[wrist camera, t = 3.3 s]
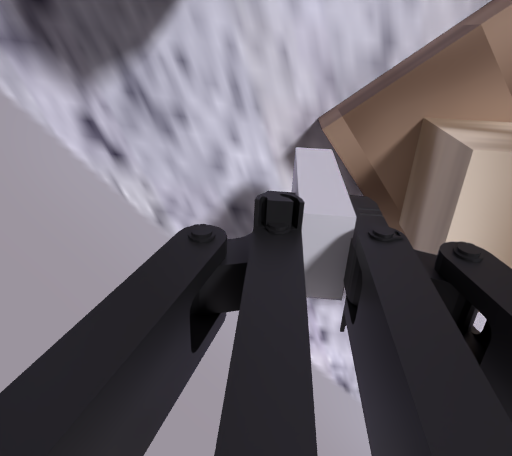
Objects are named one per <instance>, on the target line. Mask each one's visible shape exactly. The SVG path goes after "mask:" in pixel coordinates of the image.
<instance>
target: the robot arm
mask: <svg viewBox="0 0 512 456" xmlns="http://www.w3.org/2000/svg"><path fill="white" fill-rule="evenodd" d="M344 286H345V290H346V300H345V305H344V311H343V316H342V322H341V327H340V331H341V332H344V329H345V326H346V325H347V330H348V335H349V340H350V345H351V350H352V356H353V361H354V366H355V371H356V376H357V382H358V387H359V392H360V397H361V402H362V408H363V413H364V418H365V423H366V428H367V434H368V438H369V444H370V449H371V454H372V456H512V269H511V268H510V267H509V266H507V265H506V264H505V263H503V262H502V261H501V260H499V259H498V258H497V257H495V256H494V255H493V254H491V253H490V252H488V251H486V250H485V249H483V248H480V247H478V246H475V245H474V244H472V243H466V242H462V241H460V242H446V243H443V244H442V245H441V246H440V248H439V251H438V254H437V255H435V254H430V253H426V252H422V251H418V250H415V249H413V247H412V245H411V244H410V242H409V240H408V238H407V237H406V236H405V235H404V234H403V233H402V232H400V231H398V230H396V229H394V228H390V227H389V226H388V224H387V222H386V220H385V218H384V216H383V214H382V212H381V211H380V208H379V207H378V205H377V203H376V202H375V201H373V200H372V199H370V198H369V197H367V196H352V195H348V192H347V190H346V187H345V184H344V181H343V179H342V176H341V173H340V170H339V167H338V165H337V162H336V159H335V156H334V154H333V151H332V149H317V148H301V147H296V151H295V161H294V172H293V183H292V192H277V191H267V192H266V193H263V194H260V195H258V196H257V197H256V199H255V210H254V228H253V232H252V233H251V234H249V235H247V236H245V237H241V238H236V239H227V235H226V233H225V231H224V230H222V229H221V228H219V227H215V226H212V225H206V224H200V225H199V224H197V225H193V226H190V227H186V228H184V229H182V230H181V231H179V232H178V233H177V234H176V235H175V236H173V237H172V238H171V239H170V240H169V241H168V242H167V243H166V244H165V245H163V246H162V247H161V248H160V249H159V250H158V251H157V252H156V253H155V254H154V255H152V256H151V257H150V258H149V259H148V260H147V261H146V262H145V263H144V264H143V265H142V266H140V267H139V268H138V269H137V270H136V271H135V272H134V273H133V274H132V275H130V276H129V277H128V278H127V279H126V280H125V281H124V282H123V283H122V284H120V285H119V286H118V287H117V288H116V289H115V290H114V291H113V292H112V293H110V294H109V295H108V296H107V297H106V298H105V299H104V300H103V301H102V302H101V303H99V304H98V305H97V306H96V307H95V308H94V309H93V310H92V311H90V312H89V313H88V314H87V315H86V316H85V317H84V318H83V319H82V320H80V321H79V322H78V323H77V324H76V325H75V326H74V327H73V328H72V329H71V330H69V331H68V332H67V333H66V334H65V335H64V336H63V337H62V338H61V339H59V340H58V341H57V342H56V343H55V344H54V345H53V346H52V347H51V348H50V349H48V350H47V351H46V352H45V353H44V354H43V355H42V356H41V357H40V358H38V359H37V360H36V361H35V362H34V363H33V364H32V365H31V366H30V367H29V368H27V369H26V370H25V371H24V372H23V373H22V374H21V375H20V376H19V377H18V378H16V379H15V380H14V381H13V382H12V383H11V384H10V385H9V386H7V387H6V388H5V389H4V390H3V391H2V392H1V393H0V456H143V455H144V454H145V452H146V451H147V449H148V447H149V446H150V444H151V442H152V441H153V439H154V437H155V435H156V434H157V432H158V430H159V429H160V427H161V426H162V424H163V422H164V421H165V419H166V417H167V416H168V413H169V412H170V411H171V409H172V407H173V406H174V404H175V402H176V401H177V399H178V397H179V396H180V394H181V392H182V391H183V389H184V387H185V386H186V384H187V382H188V381H189V379H190V377H191V376H192V374H193V372H194V371H195V369H196V367H197V366H198V364H199V362H200V361H201V358H202V357H203V356H204V354H205V352H206V351H207V349H208V347H209V346H210V344H211V342H212V341H213V339H214V337H215V335H216V334H217V332H218V331H219V329H220V327H221V326H222V324H223V322H224V321H225V317H226V312H231V311H238V310H239V316H238V321H237V327H236V333H235V339H234V344H233V350H232V356H231V362H230V368H229V374H228V379H227V386H226V391H225V397H224V403H223V409H222V414H221V420H220V426H219V432H218V438H217V443H216V450H215V455H214V456H317V443H316V428H315V414H314V401H313V386H312V373H311V357H310V343H309V329H308V314H307V300H306V297H309V298H321V299H333V300H342V296H343V290H344ZM478 311H479V312H480V313H481V314H482V315H483V316H484V317H485V318H486V319H487V321H486V323H485V326H484V328H483V330H482V332H481V333H480V332H479V331H478V330H477V329H476V328H475V327H474V326H473V323H474V321H475V318H476V316H477V313H478Z"/></svg>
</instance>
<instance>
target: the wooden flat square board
mask: <svg viewBox="0 0 512 456" xmlns="http://www.w3.org/2000/svg"><path fill="white" fill-rule="evenodd" d="M423 118H440V119H458V120H476V121H493V122H511V123H512V0H492V1H491V2H489V3H488V4H486V5H485V6H483V7H482V8H480V9H479V10H477V11H476V12H475V13H473V14H472V15H470V16H469V17H467V18H466V19H464V20H463V21H461V22H460V23H458V24H457V25H455V26H454V27H452V28H451V29H449V30H448V31H446V32H445V33H443V34H442V35H440V36H439V37H437V38H436V39H435V40H433V41H432V42H430V43H429V44H427V45H426V46H424V47H423V48H421V49H420V50H418V51H417V52H415V53H414V54H412V55H411V56H409V57H408V58H406V59H405V60H403V61H402V62H400V63H399V64H398V65H396V66H395V67H393V68H392V69H390V70H389V71H387V72H386V73H384V74H383V75H381V76H380V77H378V78H377V79H375V80H374V81H372V82H371V83H369V84H368V85H366V86H365V87H363V88H362V89H361V90H359V91H358V92H356V93H355V94H353V95H352V96H350V97H349V98H347V99H346V100H344V101H343V102H341V103H340V104H338V105H337V106H335V107H334V108H332V109H331V110H329V111H328V112H326V113H325V114H324V115H322V116H321V117H319V118H318V119H319V122H320V125H321V128H322V130H323V132H324V133H325V135H326V137H327V138H328V140H329V141H330V143H331V145H332V146H333V148H334V149H335V151H336V152H337V154H338V156H339V157H340V159H341V160H342V162H343V163H344V165H345V167H346V168H347V170H348V171H349V173H350V174H351V176H352V178H353V179H354V181H355V182H356V184H357V185H358V187H359V189H360V190H361V192H362V193H363V195H364V196H367V197H369V198H370V199H372V200H373V201H375V202H376V203H377V205H378V207H379V208H380V211H381V212H382V214H383V216H384V218H385V220H386V222H387V224H388V226H389V227H390V228H394V229H396V230H398V231H400V232H402V233H403V234H404V235H405V233H404V231H403V229H402V228H401V226H400V224H399V220H400V216H401V212H402V208H403V203H404V199H405V195H406V190H407V186H408V182H409V178H410V173H411V169H412V165H413V161H414V156H415V152H416V148H417V143H418V139H419V135H420V131H421V126H422V122H423ZM405 236H406V235H405ZM406 237H407V236H406ZM410 244H411V243H410ZM478 312H479V311H478Z"/></svg>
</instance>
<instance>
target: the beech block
mask: <svg viewBox="0 0 512 456" xmlns="http://www.w3.org/2000/svg"><path fill="white" fill-rule="evenodd" d="M399 224H400V226H401V228H402V229H403V231H404V233H405V235H406V236H407V238H408V240H409V242H410V243H411V245H412V247H413V249H415V250H418V251H422V252H426V253H430V254H435V255H437V254H438V251H439V248H440V246H441V245H442V244H443V243H446V242H460V241H462V242H466V243H472V244H474V245H475V246H478V247H480V248H483V249H485V250H486V251H488V252H490V253H491V254H493V255H494V256H495V257H497V258H498V259H499V260H501V261H502V262H503V263H505V264H506V265H507V266H509V267H510V268H511V269H512V123H511V122H493V121H476V120H458V119H440V118H423V122H422V126H421V131H420V135H419V139H418V143H417V148H416V152H415V156H414V161H413V165H412V169H411V173H410V178H409V182H408V186H407V190H406V195H405V199H404V203H403V208H402V212H401V216H400V220H399Z"/></svg>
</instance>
